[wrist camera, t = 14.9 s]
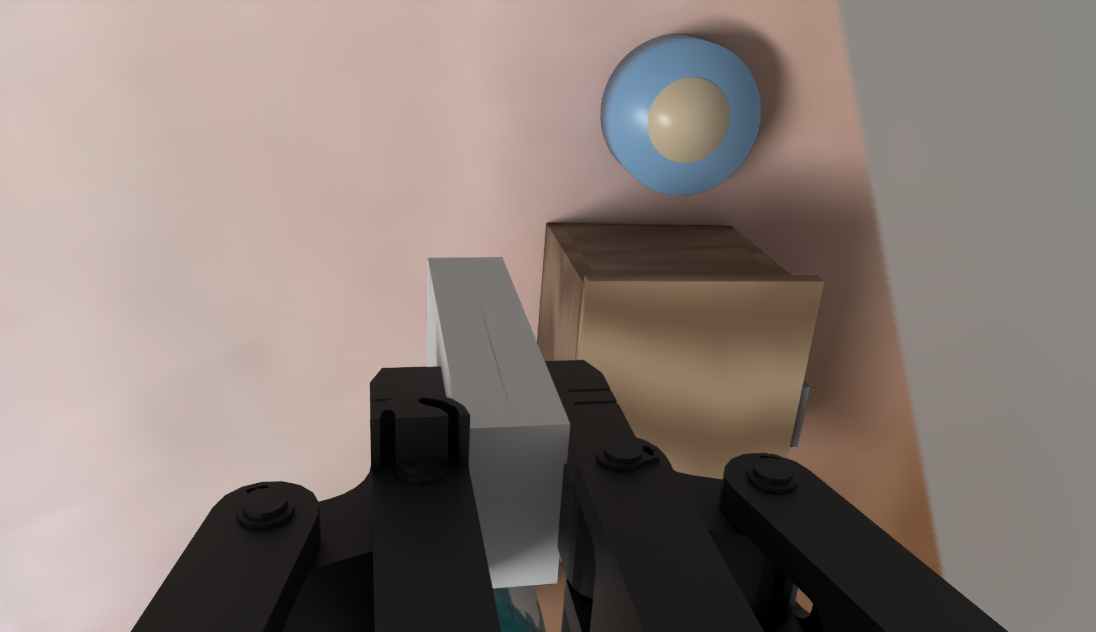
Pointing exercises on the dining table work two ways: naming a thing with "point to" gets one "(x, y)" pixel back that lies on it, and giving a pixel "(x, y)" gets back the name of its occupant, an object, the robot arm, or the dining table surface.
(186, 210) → the dining table surface
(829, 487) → the robot arm
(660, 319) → the lid
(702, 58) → the blue beige round disc
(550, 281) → the box
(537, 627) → the vase
